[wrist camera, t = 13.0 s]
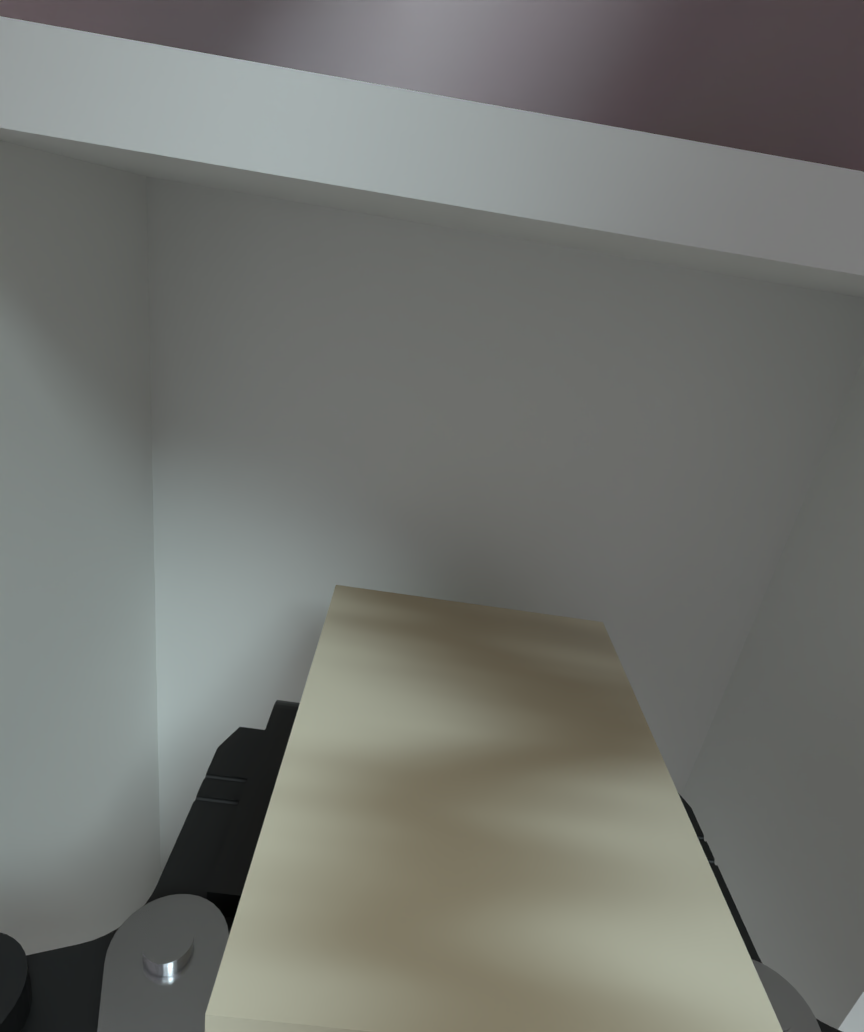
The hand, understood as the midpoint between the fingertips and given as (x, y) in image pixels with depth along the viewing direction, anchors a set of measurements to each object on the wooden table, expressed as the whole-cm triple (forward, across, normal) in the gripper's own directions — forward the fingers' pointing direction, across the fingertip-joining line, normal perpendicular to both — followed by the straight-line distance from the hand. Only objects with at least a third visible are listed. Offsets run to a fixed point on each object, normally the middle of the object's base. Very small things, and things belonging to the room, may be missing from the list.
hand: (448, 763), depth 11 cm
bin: (+5, 0, 0) cm, 5 cm away
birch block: (+1, 0, 0) cm, 1 cm away
